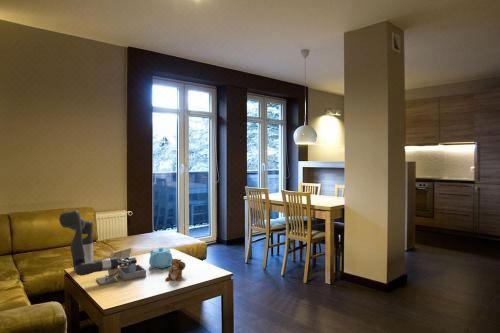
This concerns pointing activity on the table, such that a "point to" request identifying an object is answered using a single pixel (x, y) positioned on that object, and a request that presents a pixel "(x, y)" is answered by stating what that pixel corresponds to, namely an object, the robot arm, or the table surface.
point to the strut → (132, 265)
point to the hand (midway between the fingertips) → (134, 259)
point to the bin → (133, 275)
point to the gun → (119, 254)
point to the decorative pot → (160, 258)
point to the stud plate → (106, 280)
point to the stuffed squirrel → (176, 270)
